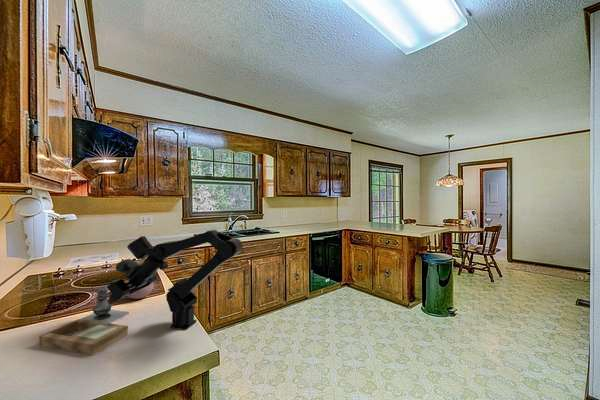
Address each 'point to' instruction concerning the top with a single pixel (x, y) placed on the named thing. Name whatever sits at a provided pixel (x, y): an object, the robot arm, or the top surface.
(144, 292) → the mortar and pestle
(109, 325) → the puzzle board
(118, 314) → the slate tile
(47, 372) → the top surface
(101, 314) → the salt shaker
